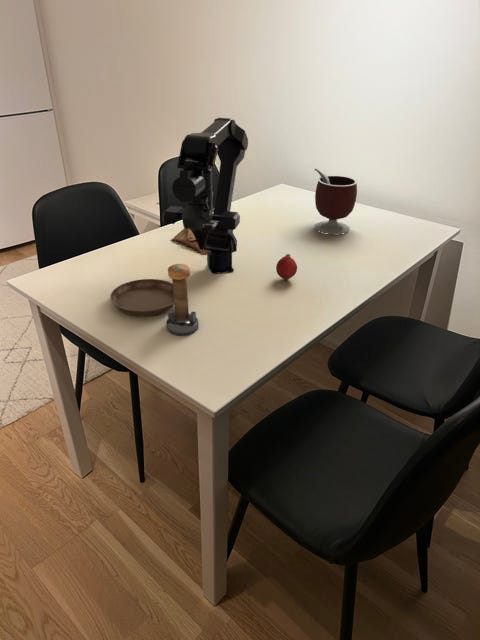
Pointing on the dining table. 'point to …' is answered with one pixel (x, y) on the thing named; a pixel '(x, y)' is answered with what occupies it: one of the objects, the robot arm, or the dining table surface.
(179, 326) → the tribrach base
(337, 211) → the mate gourd
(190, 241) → the sunglasses case
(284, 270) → the onion
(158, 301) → the plant saucer
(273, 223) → the dining table surface
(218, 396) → the dining table surface
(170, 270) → the brown capped cylinder
